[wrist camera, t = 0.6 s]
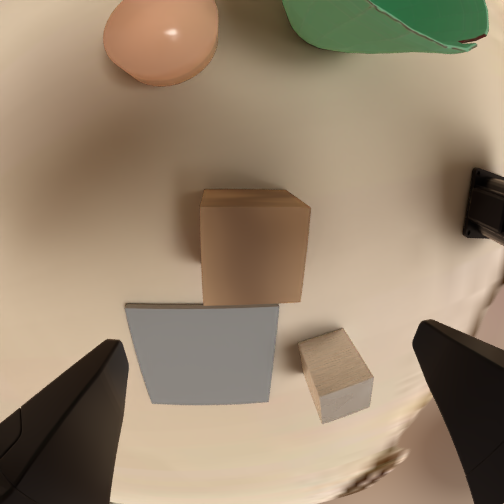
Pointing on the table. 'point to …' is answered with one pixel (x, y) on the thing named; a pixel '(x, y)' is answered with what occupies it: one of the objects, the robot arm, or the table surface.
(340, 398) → the light wood block
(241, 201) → the walnut block
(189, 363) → the slate coaster
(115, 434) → the robot arm
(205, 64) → the peach egg shape
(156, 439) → the table surface
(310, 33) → the mug
